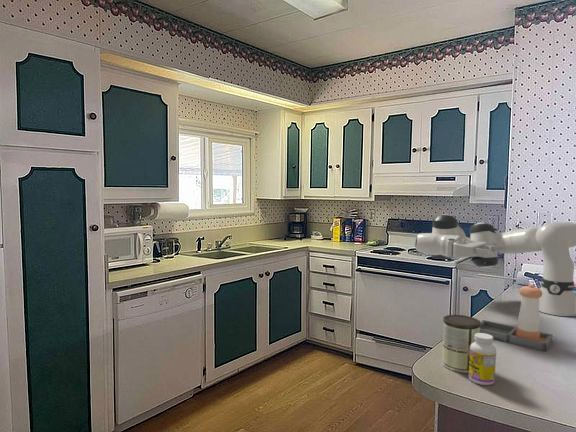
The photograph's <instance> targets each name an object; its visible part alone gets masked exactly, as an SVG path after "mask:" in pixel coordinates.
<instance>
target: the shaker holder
mask: <svg viewBox="0 0 576 432" xmlns="http://www.w3.org/2000/svg"><path fill="white" fill-rule="evenodd" d="M480 322H481V324H480V333H486V334H489V335H491V336H493V340H496V341H500V342H504V343H507V344H513V345H517V346H521V347H525V348H529V349H533V350H536V351H537V350H538V351H543V352H547V351H548V349H549V348H550V346H552V345H551V344H553V339H554V338H553V337H554V334H551V333H547V332H542V331H540V341H535V340H530V339H526V338H521V337H517V336H516V327H517V326H514V325H510V324H504V323H499V322H494V321H490V320H485V319H484V320H482V321H480Z"/></svg>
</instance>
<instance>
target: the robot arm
mask: <svg viewBox="0 0 576 432" xmlns="http://www.w3.org/2000/svg"><path fill="white" fill-rule="evenodd" d="M431 230H432V231H431V232H424V233H422V232H421V233H418V234H417V235H416V238H415V244H414V246H415V250H416V252H419V253H422V254H425V255H430V256H431V257H432V258H433V259H436V258H437V259H441V260H448V259H450V258H454V259H455V258H456V259H466V258H469V257H470V258H471V259H470V260H469V261H470V262H472V263H473V264H474V265H475V266H476V267H478V268H482V269H490V268H493V267H496V266H497V265H498V263H499V256H498V252H499V253H501V254H508V255H509V254H510V255H513V254H525V253H533V252H534V253H535V252H542V257H543V270H542V271H543V272H542V277H541V282H540V283H541V284H540V285H541V287H539V289H540V290H541V291H542V296H541V297H540V298H539V312H541V313H544V314H548V315H552V316H558V317H576V293H575V291H574V289H575V282H574V274H575V273H574V272H575V262H574V261H573V260H572V258H571V255H570V248H573V247H576V223H574V222H569V221H567V222H566V221H565V222H550V223H549V222H548V223H546V224H544V225H538V226H532V227H524V228H519V229H512V230H509V231H505V232H501V233H500V232H499V233H497V231H498V229H497V228H496V227H494V225H492V224H490V223H488V222H487V223H486V222H477V223H475V224H473V225H471V226H470V227H469V234H470V235H469V236H470V238H469V237H467V236H466V233H465V231H464V228H463V226H462V225H461V224H460V223H459V221H458V219H457V218H456V217H455V216H454V215H453V216H452V215H451V214H447V213H445V214H444V213H443V214H441V213H440V214H437V215H436V216H435V217H434V218H433V219H432V229H431Z"/></svg>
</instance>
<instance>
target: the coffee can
mask: <svg viewBox="0 0 576 432" xmlns="http://www.w3.org/2000/svg"><path fill="white" fill-rule="evenodd" d="M481 322H482V321H480V320H479V319H478V318H476V317H473V316H468V315H462V314H449V315H445V316H443V327H442V328H443V330H442V352H441V353H442V355H441V356H442V358H441V364H442V366H443V367H444V368H446V369H448V370H451V371H454V372H458V373H468V374H469V358H470V345H471V344H472V343H473V342H475V339H474V336H475V334H476V333H480V324H481Z"/></svg>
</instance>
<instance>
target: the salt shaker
mask: <svg viewBox="0 0 576 432" xmlns="http://www.w3.org/2000/svg"><path fill="white" fill-rule="evenodd" d="M518 292H519V294H520V297H521V299H520V308H519V313H518V317H517V325H516V326H515V327H516V336H517V337H521V338H526V339H530V340H535V341H540V332H541V330H540V325H541V317H540V311H539V298H540V297H541V296H542V291H541V290H540V287H536V286H534V285H533V284H529V285H525V286H522V287H520V289H519V291H518Z"/></svg>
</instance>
